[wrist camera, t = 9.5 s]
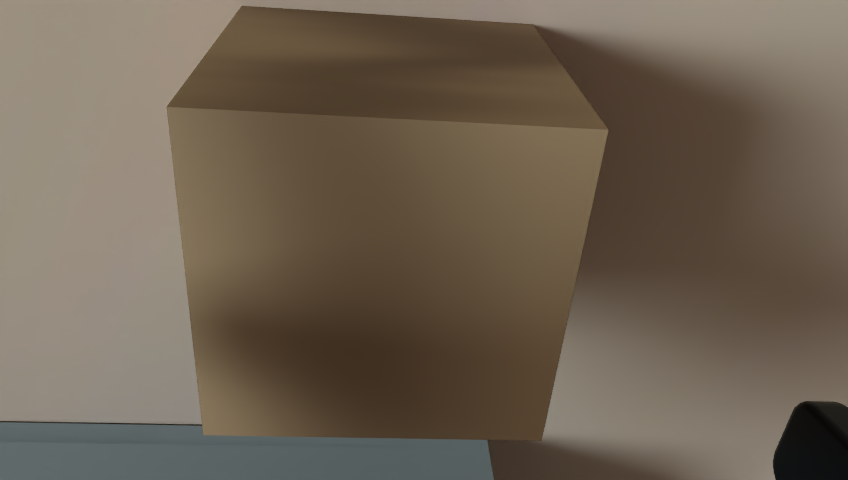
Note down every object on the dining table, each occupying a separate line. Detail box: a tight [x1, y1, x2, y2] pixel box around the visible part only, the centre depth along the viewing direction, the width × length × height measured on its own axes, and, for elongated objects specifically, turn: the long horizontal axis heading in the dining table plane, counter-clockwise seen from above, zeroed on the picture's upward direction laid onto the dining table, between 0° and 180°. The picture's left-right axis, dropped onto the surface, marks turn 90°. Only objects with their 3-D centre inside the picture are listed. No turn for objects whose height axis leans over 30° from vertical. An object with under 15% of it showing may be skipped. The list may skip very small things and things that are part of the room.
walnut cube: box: [167, 6, 608, 441], centre depth 12 cm, size 5×5×5 cm
